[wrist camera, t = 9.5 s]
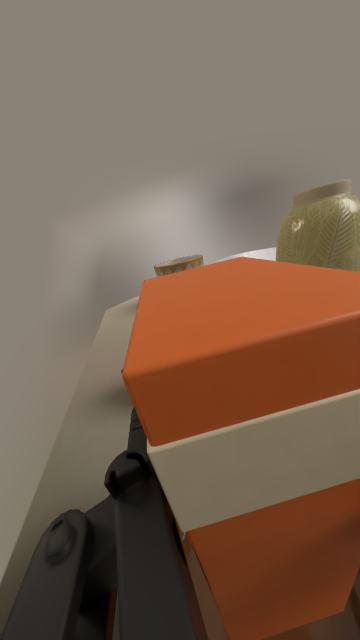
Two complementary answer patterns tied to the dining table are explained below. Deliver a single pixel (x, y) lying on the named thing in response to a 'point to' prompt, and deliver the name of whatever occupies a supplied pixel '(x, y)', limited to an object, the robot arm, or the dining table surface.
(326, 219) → the vase
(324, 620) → the bowl
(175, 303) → the packet
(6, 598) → the dining table surface
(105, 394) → the dining table surface
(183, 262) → the planter
